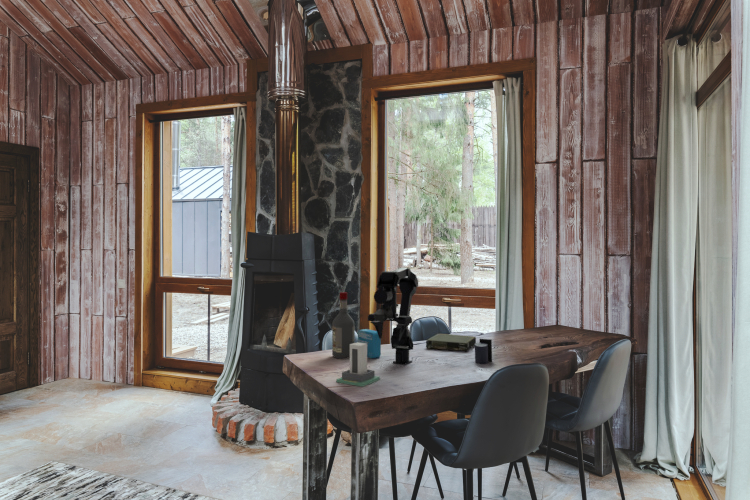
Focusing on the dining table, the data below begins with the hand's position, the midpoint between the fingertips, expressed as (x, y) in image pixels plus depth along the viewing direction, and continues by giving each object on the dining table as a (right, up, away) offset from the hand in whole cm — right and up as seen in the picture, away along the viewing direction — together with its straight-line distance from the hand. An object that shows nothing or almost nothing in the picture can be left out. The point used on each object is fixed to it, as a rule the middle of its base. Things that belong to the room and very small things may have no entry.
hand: (389, 339), depth 202 cm
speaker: (+42, -13, +15) cm, 47 cm away
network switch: (+34, -14, +51) cm, 63 cm away
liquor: (-21, -13, +28) cm, 37 cm away
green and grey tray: (-12, -13, -14) cm, 23 cm away
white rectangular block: (-12, -12, -14) cm, 22 cm away
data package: (-9, -13, +29) cm, 33 cm away
